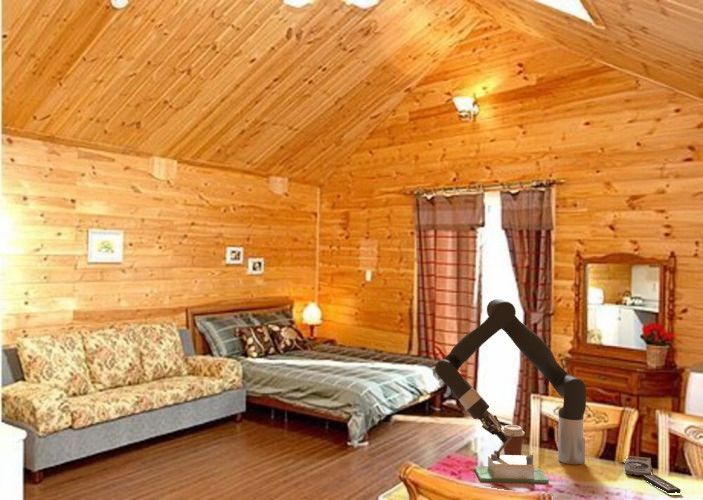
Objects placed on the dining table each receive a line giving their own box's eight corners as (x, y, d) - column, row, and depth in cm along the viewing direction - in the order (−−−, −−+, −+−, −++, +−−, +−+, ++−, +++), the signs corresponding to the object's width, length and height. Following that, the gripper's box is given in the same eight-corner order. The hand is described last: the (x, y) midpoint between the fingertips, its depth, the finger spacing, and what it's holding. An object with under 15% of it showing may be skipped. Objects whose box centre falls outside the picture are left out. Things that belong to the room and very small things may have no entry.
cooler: (538, 470, 225) (538, 448, 225) (548, 483, 212) (548, 459, 212) (474, 469, 225) (474, 446, 225) (480, 481, 213) (480, 457, 213)
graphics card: (617, 453, 237) (651, 457, 232) (617, 463, 237) (651, 467, 232) (616, 467, 222) (653, 471, 217) (617, 477, 222) (653, 482, 217)
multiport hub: (654, 480, 217) (654, 474, 217) (681, 496, 203) (681, 489, 203) (643, 481, 217) (643, 474, 217) (669, 496, 202) (669, 490, 203)
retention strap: (494, 458, 220) (492, 456, 220) (496, 456, 223) (494, 454, 223) (513, 436, 217) (511, 434, 217) (515, 433, 220) (513, 432, 220)
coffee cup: (524, 462, 234) (524, 431, 234) (500, 459, 237) (500, 429, 237) (524, 454, 243) (524, 425, 243) (501, 452, 246) (501, 423, 246)
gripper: (475, 400, 219) (509, 439, 213) (485, 393, 230) (517, 430, 224) (461, 413, 221) (494, 452, 215) (472, 405, 233) (503, 442, 227)
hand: (506, 440), depth 220 cm, fingers closed
